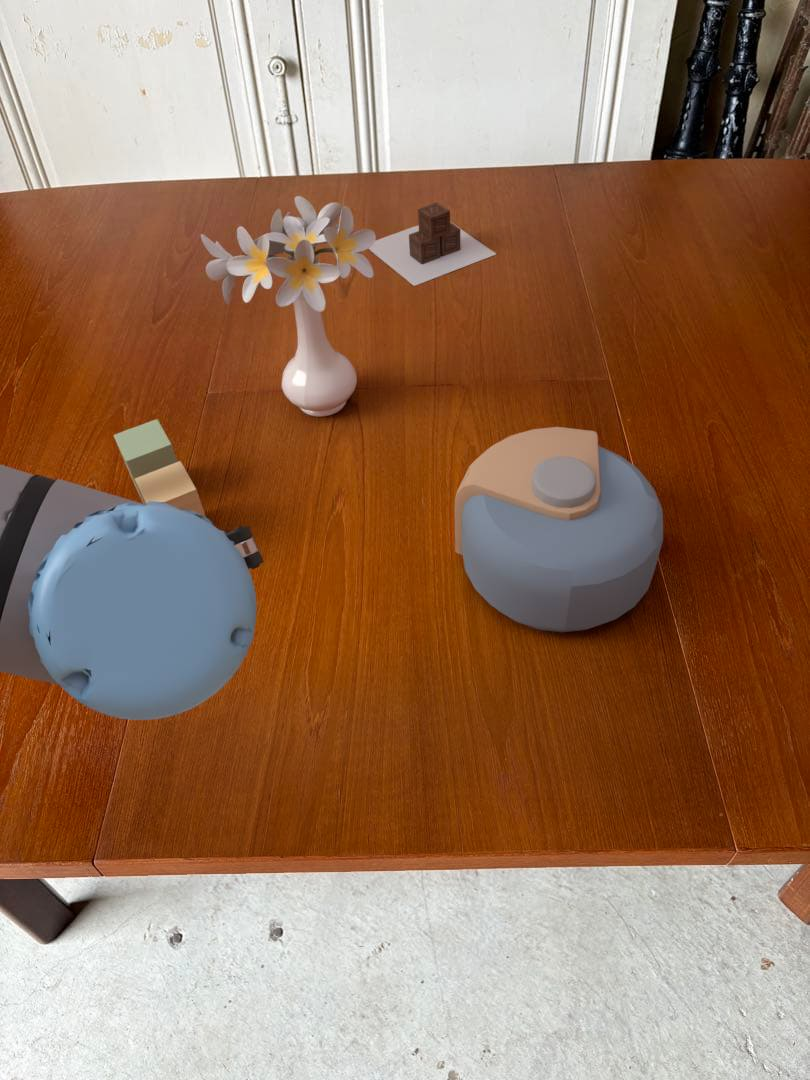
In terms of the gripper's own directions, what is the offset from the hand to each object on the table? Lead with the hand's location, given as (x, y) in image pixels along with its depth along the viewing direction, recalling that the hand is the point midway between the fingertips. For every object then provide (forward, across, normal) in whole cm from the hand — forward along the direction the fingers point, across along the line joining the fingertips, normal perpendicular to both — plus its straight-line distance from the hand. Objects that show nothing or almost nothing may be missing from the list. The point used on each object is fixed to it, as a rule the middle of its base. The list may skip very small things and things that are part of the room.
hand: (149, 580), depth 63 cm
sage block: (+31, +5, +8) cm, 32 cm away
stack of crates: (+52, +58, +29) cm, 83 cm away
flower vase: (+34, +27, +11) cm, 45 cm away
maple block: (+25, +5, +2) cm, 26 cm away
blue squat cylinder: (+9, +37, -14) cm, 41 cm away
